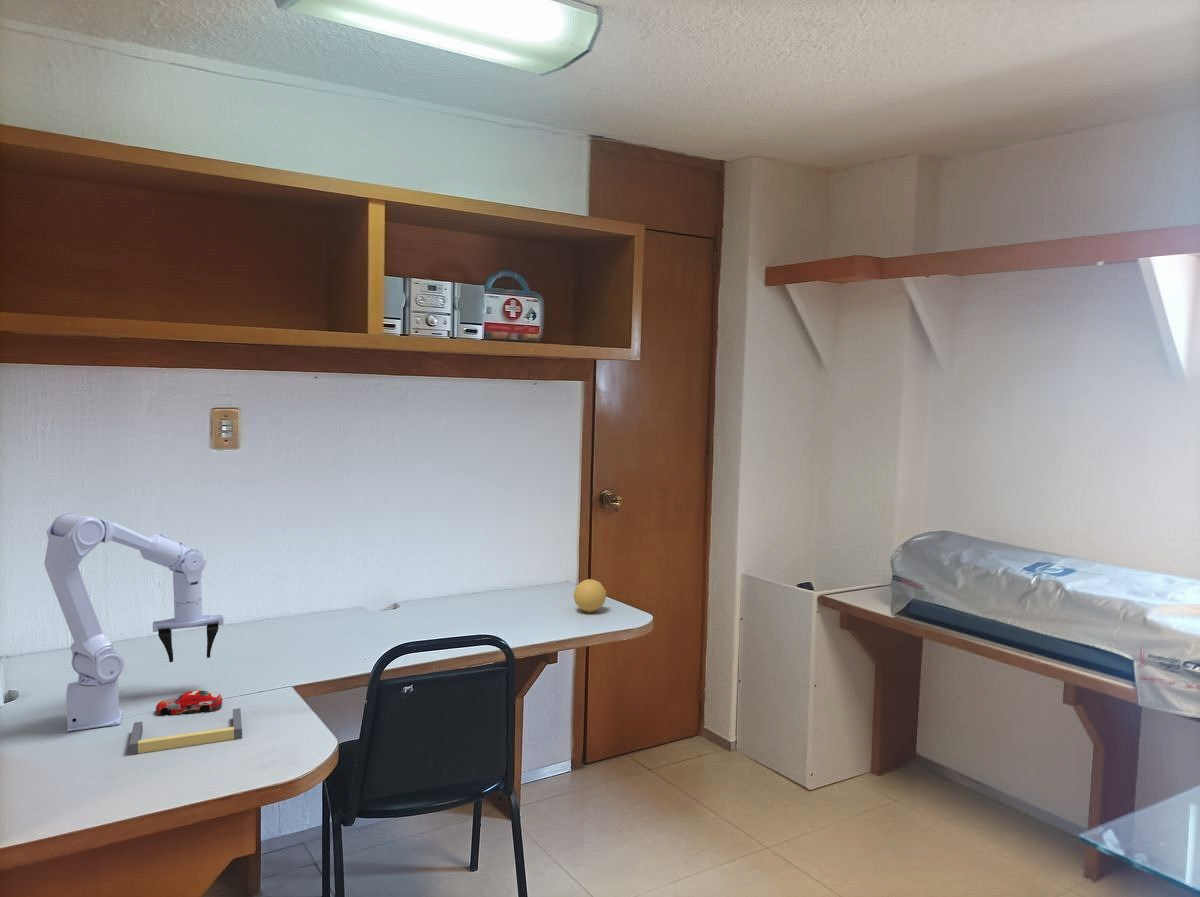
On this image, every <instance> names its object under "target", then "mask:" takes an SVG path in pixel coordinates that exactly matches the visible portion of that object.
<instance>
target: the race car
mask: <svg viewBox="0 0 1200 897" xmlns="http://www.w3.org/2000/svg"><path fill="white" fill-rule="evenodd" d="M223 704H224V703H223V697H222V695H221V693H219V692H215V691H214V692H213V691H210V690H190V691H186V692H184V693H182V694H180V695H177V696H174V697H170V698H165V699H163V700H161V701H159V702H157V704H156V707H155V712H156V714H157V715H161V716H162V717H164V715H165V717H166V715H169V716H170V715H181V714H183V715H184V714H193V713H200V712H205V713H209V712H212V711H215V710H218V709H220V708H221V707H222V705H223Z"/></svg>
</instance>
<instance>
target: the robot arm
mask: <svg viewBox="0 0 1200 897" xmlns="http://www.w3.org/2000/svg"><path fill="white" fill-rule="evenodd" d="M46 536H47V539H48V540H47V541H48V542H47V546H46V550H45V552H46V553H45V557H44V567H45V571H46V572H47V575H48V578H49V581H50V583H51V586H52V588H53V592H54V593H55V597H56V599H57V601H58V605H59V607H60V609H61V612H62V613H63V617H64V620H65V621H66V624H67V627H68V629H69V632H70V635H71V638H72V640H73V643H72V644H71V646H70V647H69V648H70V650H71V653H72V654H71V656H72V657H71V666H72V669H73V671H74V672H76V673H77V674H78V680H77V681H73V682H69V683H67V687H66V695H65V696H66V697H65V698H66V699H65V703H66V719H67V721H66V722H67V724H66V726H67V731H66V732H72V731H73V730H74V731H80V730H89V729H95V728H103V727H110V726H117V725H120V724H121V723H122V722H121V721H122V718H123V715H124V714H123V713H124V709H123V708H120V694H119V690H120V689H119V677H120V675H121V674H122V672H123V670H124V666H125V660H124V658H123V656H122V655H121V653H119V652H117V650H116V649H115V648H114V645H113V643H112V642H111V641H110V640H109V639H108V637H107V636H106V635H105V634H104V632H103V629H102V627H101V624H100V621H99V619H98V616H97V614H96V611H95V608H94V605H93V603H92V601H91V598H90V595H89V593H88V590H87V587H86V584H85V582H84V579H83V577H82V576H83V575H82V573H81V571H80V569H79V565H80V563H81V562H82V560H83V559H84V558H85V557H86V556H87V555H89V554H90V552H91V551H93V550H94V549H95V548H96V547H97V546H98V545H100V543H108V542H111V541H112V542H113V543H118V544H120V545H122V546H126V547H128V548H131V549H134V550H138V551H139V552H140V556H141V557H142V558H143V559H144V560H146V561H149V562H152V563H154V564H157V565H160V566H163V567H166V568H167V569H168V570H169V571H172V587H173V609H174V612H173V614H174V615H173V616H174V617H173V618H169V619H163V620H162V619H161V620H157V621H156V620H155V621H152V633H158V634H157V636H158V638H159V640H160V641H161V643H162V645H163V646H164V648H165V651H166V654H167V657H168V662H169V663H173V662H174V649H173V643H172V642H173V639H172V638H173V637H172V636H173V635H172V632H173V631H172V630H179V629H188V628H189V629H190V628H199V627H201V628H202V627H206V644H207V645H206V659H209V658H211V651H212V647H213V644H214V641H215V638H216V636H217V633H218V631H219V627H220V626H224V624H225V623H224V622H225V621H224V614H213V615H212V614H210V615H205V614H204V615H203V598H202V597H203V596H202V578H203V576H202V575H203V570H204V569H205V567H206V565H207V559H206V558H205V557H204V554H203V553H202V551H201V550H199V549H196V548H190V547H186V545H187V544H186V543H184V542H182V541H181V542H177V541H174V540H171V539H169V536H168V535H167V534H165V533H164V534H163V533H159V534H151V535H149V536H145V535H143V534H141V533H139V532H138V531H137V532H136V531H135V530H132V529H130V528H128V527H125V526H122V525H121V524H118V523H117V522H114V521H109V520H106V519H105V520H104V519H101V518H100V519H99V518H97V517H95V516H86V515H80V514H77V513H73V512H64V513H61V514H60V515H58V516H56V518H54V520H53V521H52V522H51V524H50V526H49V527H48V528H47V530H46ZM74 731H73V732H74Z"/></svg>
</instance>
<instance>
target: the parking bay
mask: <svg viewBox="0 0 1200 897" xmlns="http://www.w3.org/2000/svg"><path fill="white" fill-rule="evenodd" d="M241 710H242V709H241V707H237V708H233V709H232V725H233V726H230V727H223V728H222V727H221V728H216V729H209V730H201V731H194V732H188V733H182V734H181V733H180V734H174V735H168V736H167V735H165V736H159V737H154V738H146V739H145V738H144V739H142V736H143V731H144V730H143V729H144V728H143V727H144V726H143V721H137V722H135V721H134V722H133V725H132V729H131V733H130V739H129V744H128V752H129V755H137V754H143V753H149V752H157V751H164V750H170V749H177V748H184V747H192V746H197V745H198V746H199V745H205V744H210V743H218V742H223V741H233V740H239V739H243V723H242V714H241V712H242V711H241Z"/></svg>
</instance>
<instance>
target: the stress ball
mask: <svg viewBox="0 0 1200 897" xmlns="http://www.w3.org/2000/svg"><path fill="white" fill-rule="evenodd" d="M606 598H607V590H606V589H605V587H604V586H603V585H602V582H601V581H598V580H595V579H593V578H592V579H590V578H588V579H585V580H582V581H580V582H579V583H578V584H577V585H576V586H575V589H574V592H573V600H574V603H575V604H576V606H577V607H578V608H579V609H581V611H583V612H585V613H590V614H591V613H592V614H593V613H594V612H595V611H598V610H600V609H601V608H602V607H603V606H604V603H605V602H606Z"/></svg>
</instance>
